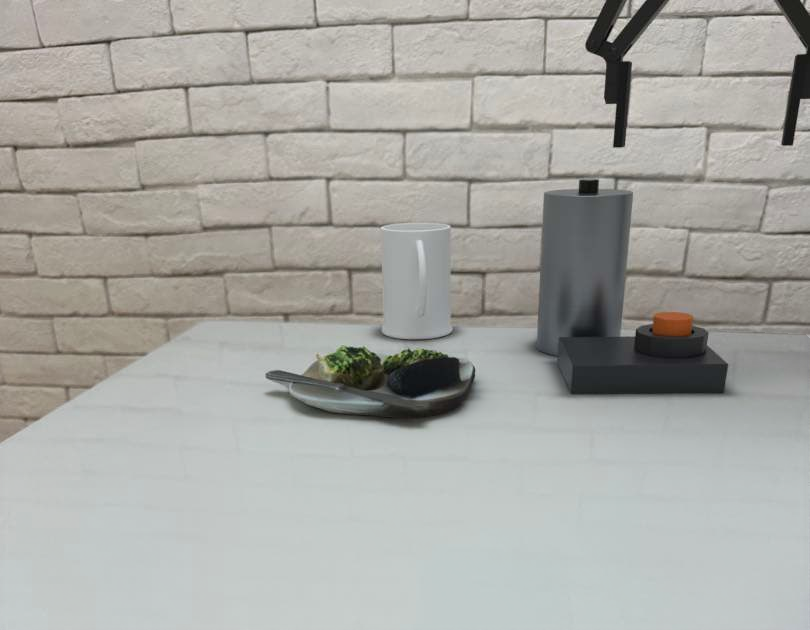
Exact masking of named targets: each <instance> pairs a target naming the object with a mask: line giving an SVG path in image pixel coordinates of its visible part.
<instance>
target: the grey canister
mask: <svg viewBox="0 0 810 630" xmlns="http://www.w3.org/2000/svg"><path fill="white" fill-rule="evenodd" d="M599 187H600V179H598V178H581V179H579V180H578V188H568V189H554V190H547V191H544V192H543V203H542V222H541V223H542V225H541V243H540V244H541V245H540V265H539V284H538V285H539V286H538V305H537V306H538V307H537V327H536V329H537V330H536V349H537V350H538V351H540V352H541V353H544V354H546V355H547V354H548V355H550V356H556V357H558V340H559V337H621V335H622V334H621V333H622V323H623V322H622V321H623V311H624V301H625V291H626V290H625V289H626V288H625V287H626V278H627V267H628V255H629V246H630V245H629V244H630V234H631V223H632V213H633V212H632V211H633V200H634V191H632V190H629V189H628V190H627V189H618V188H617V189H616V188H599Z"/></svg>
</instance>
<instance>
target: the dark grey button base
mask: <svg viewBox="0 0 810 630" xmlns="http://www.w3.org/2000/svg"><path fill="white" fill-rule="evenodd" d="M652 329H653V323H650V324H644V325H640V326H639V327H637V328H636V329H635V333H634V336H620V337H559V340H558V356H556V359H557V360H556V364H557V366H558V368H559V370H560V372H561V375H562V377H563V380H564V381H565V384H566V386H567V388H568V391H569V393H570V394H571V395H581V394H583V395H584V394H587V395H594V394H595V395H596V394H598V395H599V394H600V395H601V394H602V395H603V394H605V395H606V394H608V395H609V394H714V393H715V394H718V393H719V394H721V393H722V394H724V393H725V390H726V389H725V388H726V383H727V382H726V381H727V375H728V371H729V370H728V369H729V363H728V362H727V361H726V360H724V358H722V357H721V356H720V355H719V354H718V353H716V351H714V349H712V348H711V347H710V346H709V345H708V341H709V340H708V339H709V334H710V333H709V331H707V329H705V328H703V327H700V326H696V325H692V332H691V335H685V336H668V335H659V334H655V333H652Z"/></svg>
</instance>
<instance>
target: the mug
mask: <svg viewBox="0 0 810 630" xmlns="http://www.w3.org/2000/svg"><path fill="white" fill-rule="evenodd" d="M451 229H452V227H451V225H450V224H448V223H447V224H446V223H441V222H439V223H438V222H400V223H392V224H391V223H390V224H386V225H383V226H381V227H380V251H381V252H380V254H381V256H380V258H381V283H382V285H381V287H382V325H381V333H382V334H383V335H385V336H387V337H388V338H395V339H399V340H428V339H429V340H430V339H437V338H442V337H445V336H447V335H450V334H451V333H452V332H453V326H452V315H451V312H452V311H451V280H452V279H451V278H452V277H451V273H452V272H451V270H452V268H451V267H452V265H451V264H452V263H451V262H452V261H451V259H452V258H451V255H452V254H451V253H452V252H451V250H452V249H451V246H452V245H451V244H452V243H451V241H452V237H451V235H452V233H451V232H452V230H451Z"/></svg>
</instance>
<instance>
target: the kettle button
mask: <svg viewBox="0 0 810 630" xmlns="http://www.w3.org/2000/svg"><path fill="white" fill-rule="evenodd" d="M652 324H653V329H652V333H655V334H659V335H668V336H685V335H691V332H692V326H693V324H694V316H693V315H692V314H690V313H686V312H681V311H680V312H679V311H661V312H657V313H655V314H654V315H653V321H652Z"/></svg>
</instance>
